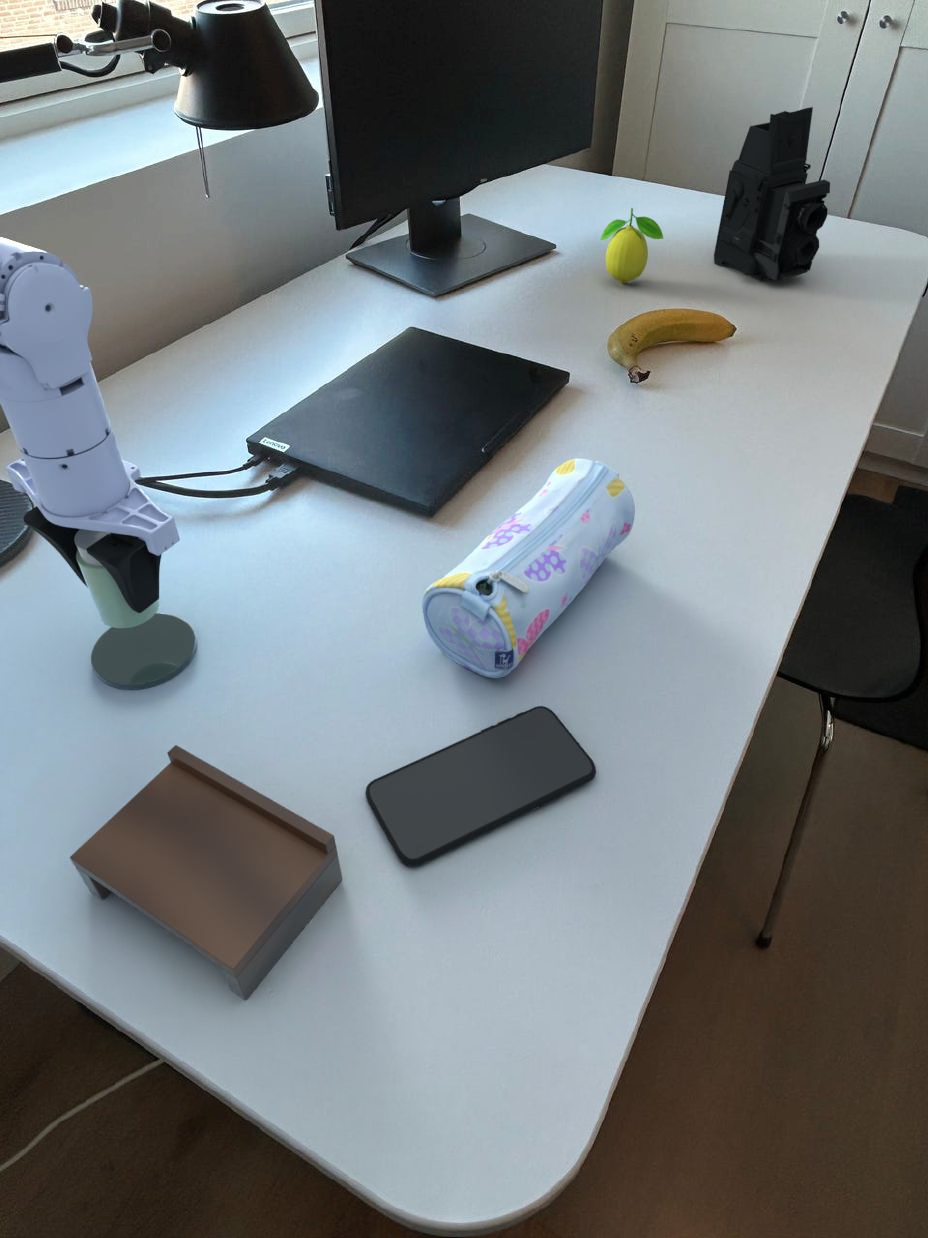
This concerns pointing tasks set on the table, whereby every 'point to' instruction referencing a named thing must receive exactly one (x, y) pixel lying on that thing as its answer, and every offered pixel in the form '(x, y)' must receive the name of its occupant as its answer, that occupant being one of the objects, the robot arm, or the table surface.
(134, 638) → the coaster
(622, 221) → the lemon
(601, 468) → the pencil case
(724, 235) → the camera
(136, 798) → the shelf
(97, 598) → the shaker
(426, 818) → the smartphone
